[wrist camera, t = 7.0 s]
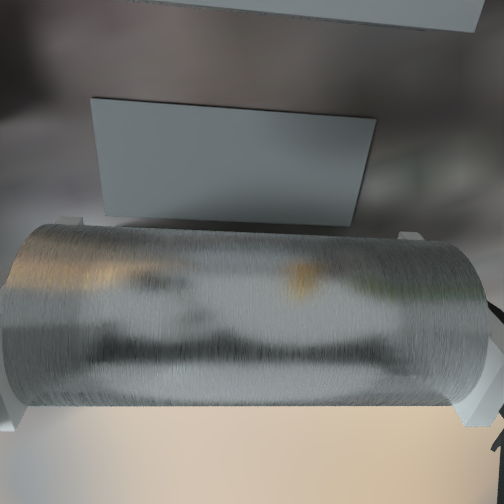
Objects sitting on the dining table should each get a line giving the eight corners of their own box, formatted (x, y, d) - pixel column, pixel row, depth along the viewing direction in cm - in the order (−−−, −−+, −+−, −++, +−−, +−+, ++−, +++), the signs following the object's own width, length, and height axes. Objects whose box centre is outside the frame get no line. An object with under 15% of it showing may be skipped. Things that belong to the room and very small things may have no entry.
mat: (90, 97, 20) (89, 98, 20) (375, 118, 22) (376, 119, 22) (106, 214, 24) (105, 216, 24) (349, 225, 26) (350, 226, 25)
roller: (65, 195, 12) (-27, 296, 8) (422, 213, 13) (522, 310, 9) (88, 319, 15) (29, 447, 10) (383, 325, 16) (444, 442, 11)
